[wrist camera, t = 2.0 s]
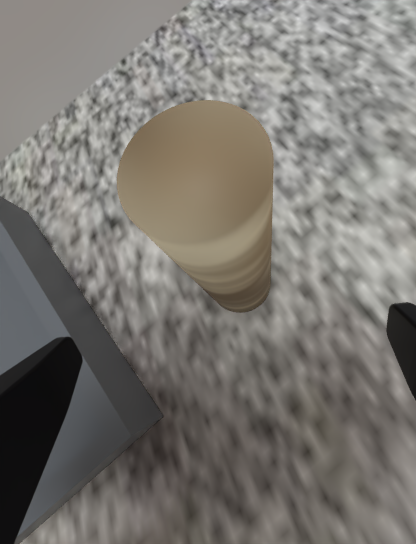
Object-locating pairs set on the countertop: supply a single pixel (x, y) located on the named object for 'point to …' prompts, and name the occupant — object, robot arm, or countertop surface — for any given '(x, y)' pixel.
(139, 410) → the charcoal box
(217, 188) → the birch peg
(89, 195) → the countertop surface
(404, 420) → the countertop surface
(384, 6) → the countertop surface
